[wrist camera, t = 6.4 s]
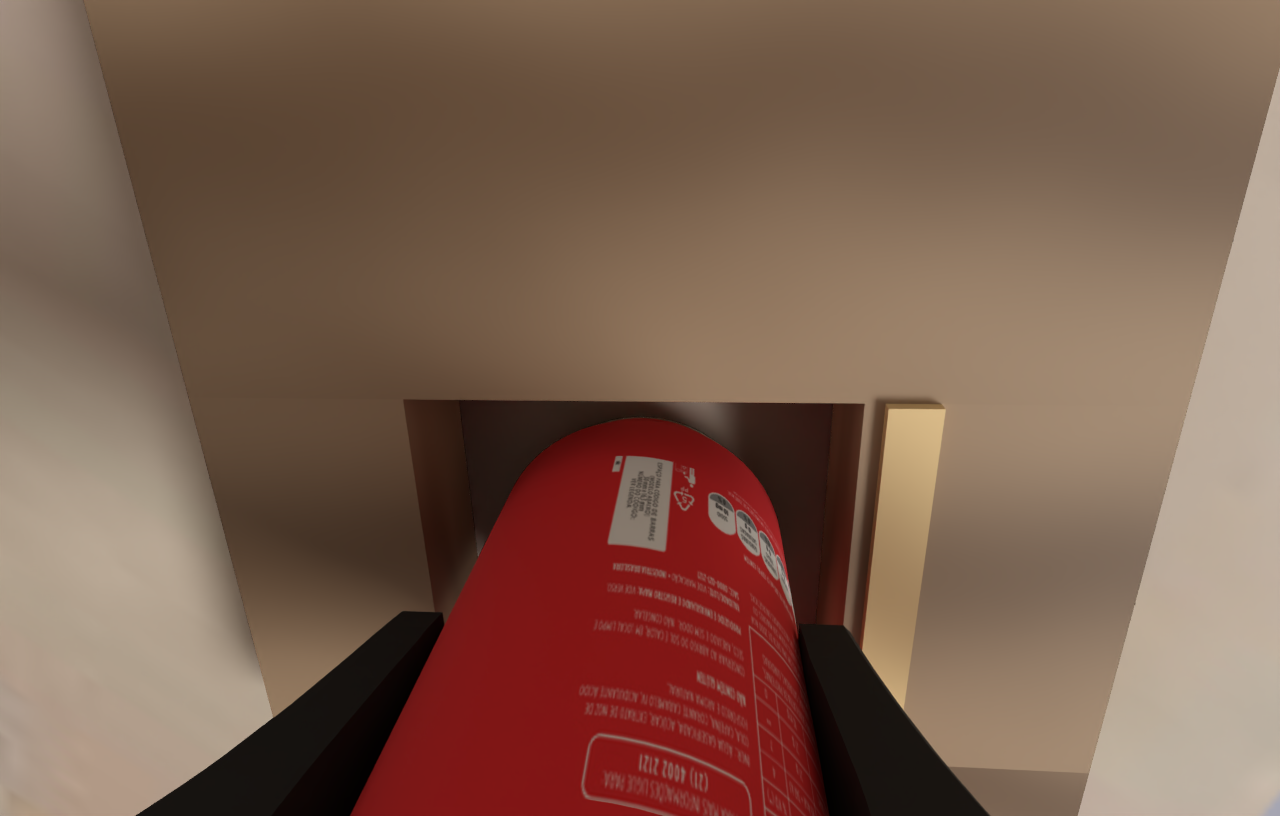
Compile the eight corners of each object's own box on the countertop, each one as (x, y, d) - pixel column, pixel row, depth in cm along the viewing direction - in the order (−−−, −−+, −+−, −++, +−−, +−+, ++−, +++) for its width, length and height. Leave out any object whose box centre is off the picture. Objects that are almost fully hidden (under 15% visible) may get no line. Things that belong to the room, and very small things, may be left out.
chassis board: (1020, 729, 16) (1077, 843, 14) (347, 700, 17) (287, 800, 15) (1208, -133, 10) (1366, -205, 8) (179, -84, 12) (35, -134, 9)
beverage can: (803, 595, 15) (1054, 1861, 4) (567, 646, 16) (278, 1785, 5) (736, 364, 14) (868, 1499, 3) (476, 436, 15) (-236, 1480, 4)
